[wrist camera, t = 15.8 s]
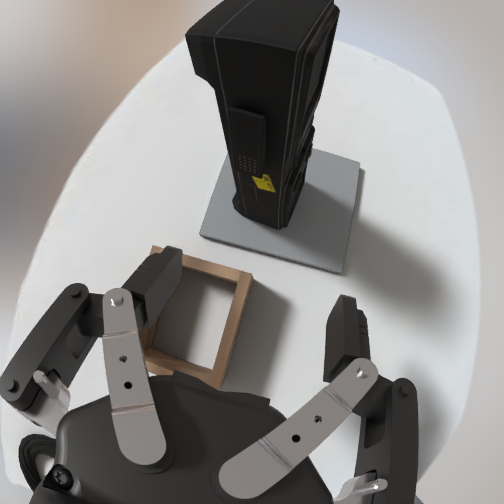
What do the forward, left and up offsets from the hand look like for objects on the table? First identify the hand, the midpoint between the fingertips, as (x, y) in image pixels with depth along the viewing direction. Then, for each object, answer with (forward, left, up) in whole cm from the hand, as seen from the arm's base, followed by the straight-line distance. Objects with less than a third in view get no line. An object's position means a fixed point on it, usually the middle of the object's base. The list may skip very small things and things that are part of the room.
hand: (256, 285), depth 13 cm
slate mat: (0, -12, -16) cm, 20 cm away
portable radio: (+2, -10, -15) cm, 19 cm away
